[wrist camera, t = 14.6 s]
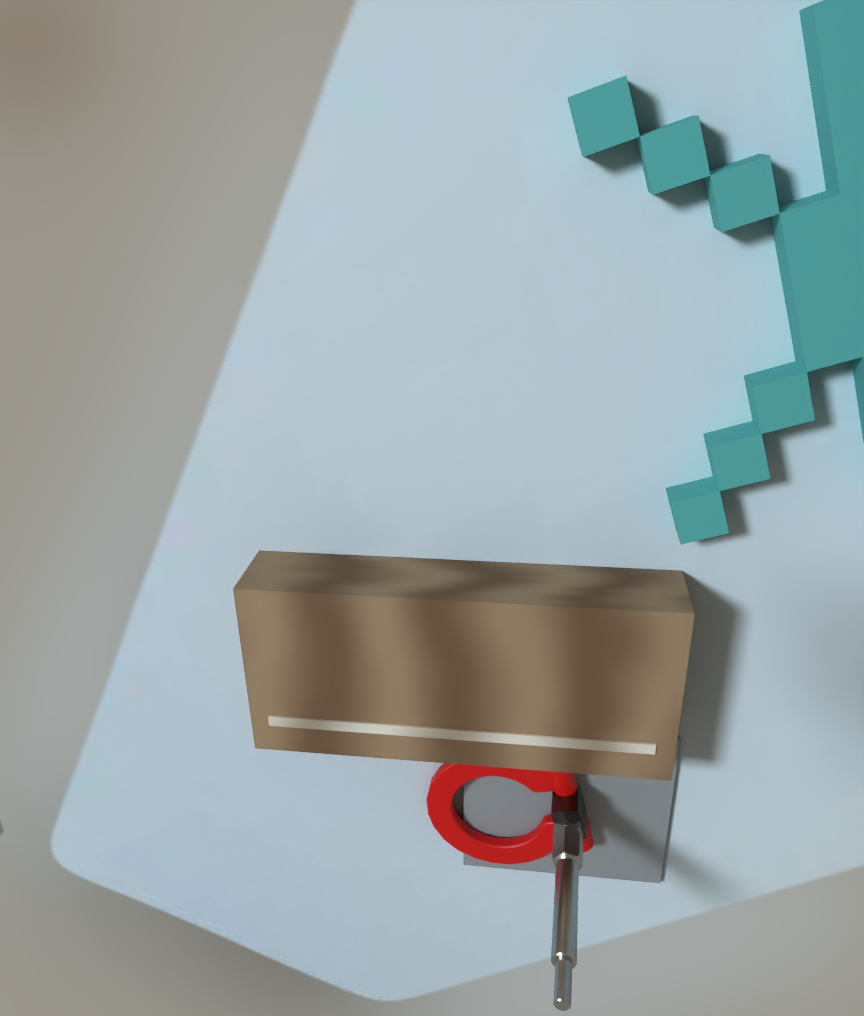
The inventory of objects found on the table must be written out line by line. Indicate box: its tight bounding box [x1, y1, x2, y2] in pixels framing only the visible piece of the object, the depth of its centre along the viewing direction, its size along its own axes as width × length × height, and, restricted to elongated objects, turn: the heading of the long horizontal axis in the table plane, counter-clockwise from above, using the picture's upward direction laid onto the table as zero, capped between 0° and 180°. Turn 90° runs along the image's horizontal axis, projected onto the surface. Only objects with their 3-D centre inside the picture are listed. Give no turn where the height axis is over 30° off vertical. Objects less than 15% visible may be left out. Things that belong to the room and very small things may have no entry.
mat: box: [464, 737, 680, 883], centre depth 48 cm, size 12×11×1 cm
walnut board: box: [233, 551, 695, 781], centre depth 43 cm, size 22×10×4 cm, turn 91°
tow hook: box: [427, 763, 594, 1011], centre depth 43 cm, size 8×13×9 cm
